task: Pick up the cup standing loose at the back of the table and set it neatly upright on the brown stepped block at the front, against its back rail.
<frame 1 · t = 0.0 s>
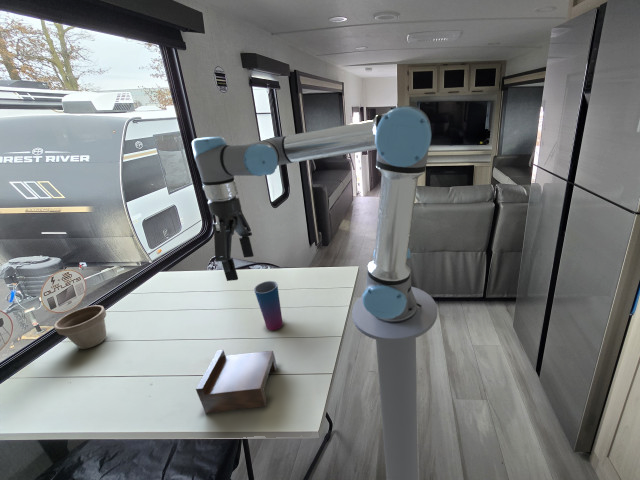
hand: (241, 267, 90), 24 cm above the table, tool pointing down, fingers open, 13 cm apart
brown stepped block: (243, 388, 79), on the table
flower pot: (93, 342, 98), on the table
cup: (274, 325, 102), on the table
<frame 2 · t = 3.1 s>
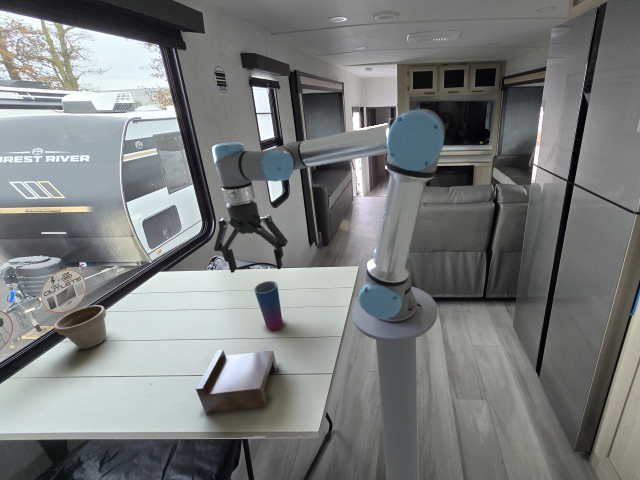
hand: (257, 268, 93), 22 cm above the table, tool pointing down, fingers open, 13 cm apart
nothing on the table moved.
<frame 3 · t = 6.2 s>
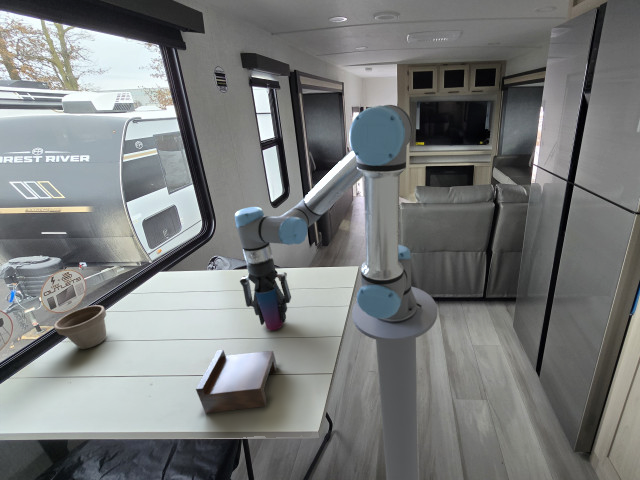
hand: (273, 320, 101), 2 cm above the table, tool pointing down, fingers closed on cup, 6 cm apart
cup: (274, 325, 102), on the table, touching gripper
everything else where it was.
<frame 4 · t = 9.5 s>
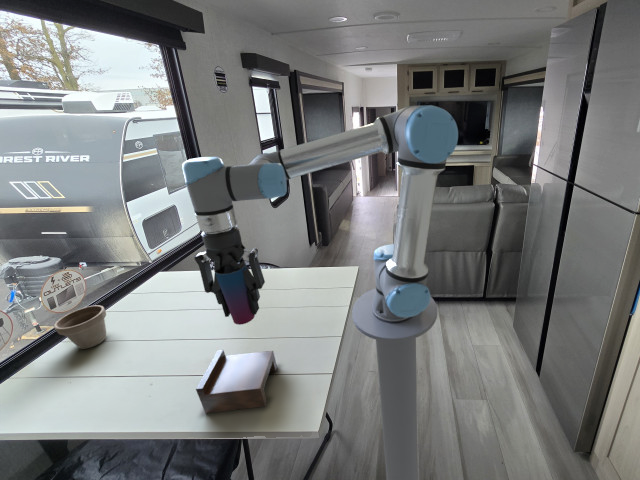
hand: (242, 312, 78), 19 cm above the table, tool pointing down, fingers closed on cup, 6 cm apart
cup: (244, 318, 79), point 17 cm above the table, touching gripper
everything else where it was.
when the fingers open (8 cm above the table, at t = 12.9 s): cup stays where it is, resting on brown stepped block.
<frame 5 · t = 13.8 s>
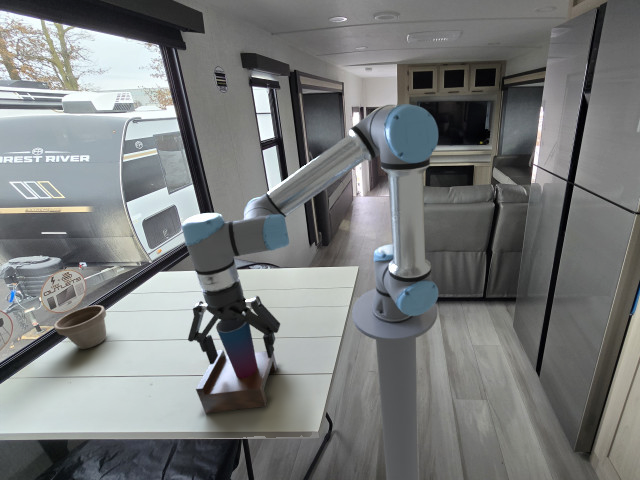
hand: (243, 357, 76), 10 cm above the table, tool pointing down, fingers open, 13 cm apart
cup: (246, 370, 77), point 6 cm above the table, touching brown stepped block
everything else where it was.
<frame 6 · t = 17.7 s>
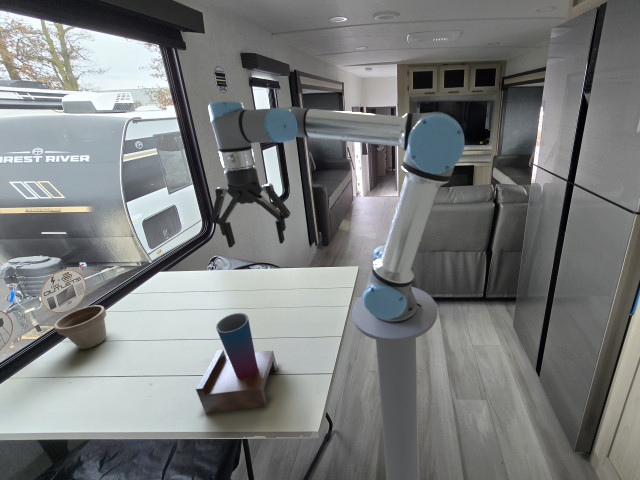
hand: (257, 243, 86), 32 cm above the table, tool pointing down, fingers open, 13 cm apart
nothing on the table moved.
at the end: cup inside the target area on the brown stepped block (0.0 cm from its centre), point 5.8 cm above the brown stepped block's base; cup tilted 0°; the gripper is holding nothing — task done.
